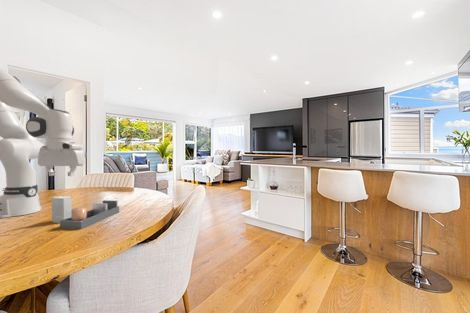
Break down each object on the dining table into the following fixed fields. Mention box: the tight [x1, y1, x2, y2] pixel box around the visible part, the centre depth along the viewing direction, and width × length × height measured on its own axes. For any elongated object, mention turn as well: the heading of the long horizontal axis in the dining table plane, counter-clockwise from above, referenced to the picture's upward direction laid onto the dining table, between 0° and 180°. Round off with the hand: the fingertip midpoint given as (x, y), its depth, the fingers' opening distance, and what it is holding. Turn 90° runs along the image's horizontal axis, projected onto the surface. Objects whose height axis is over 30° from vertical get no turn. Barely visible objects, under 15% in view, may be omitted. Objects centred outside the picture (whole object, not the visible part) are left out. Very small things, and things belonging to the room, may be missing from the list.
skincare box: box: [51, 195, 72, 224], centre depth 95 cm, size 6×4×12 cm
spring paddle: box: [92, 202, 107, 216], centre depth 102 cm, size 7×1×6 cm, turn 85°
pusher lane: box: [59, 199, 120, 230], centre depth 98 cm, size 10×24×7 cm, turn 174°
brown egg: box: [71, 206, 87, 221], centre depth 90 cm, size 5×5×7 cm
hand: (61, 175), depth 94 cm, fingers open, 8 cm apart
